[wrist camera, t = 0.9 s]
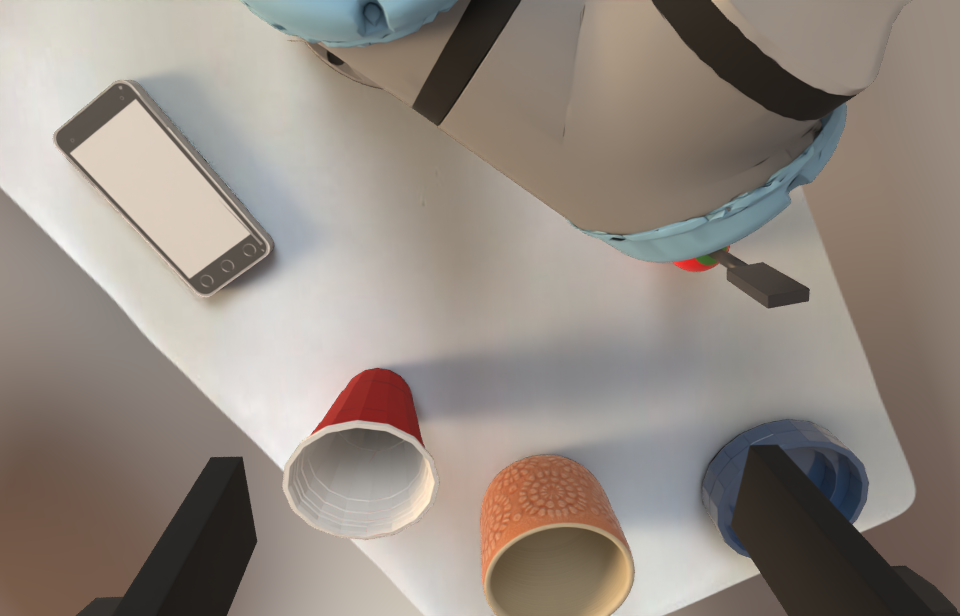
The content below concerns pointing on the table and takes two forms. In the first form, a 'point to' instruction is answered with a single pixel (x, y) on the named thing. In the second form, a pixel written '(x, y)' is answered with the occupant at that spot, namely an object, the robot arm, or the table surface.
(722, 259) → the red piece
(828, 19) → the robot arm
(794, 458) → the dish
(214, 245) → the smartphone
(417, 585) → the table surface
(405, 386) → the plastic cup
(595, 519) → the planter
